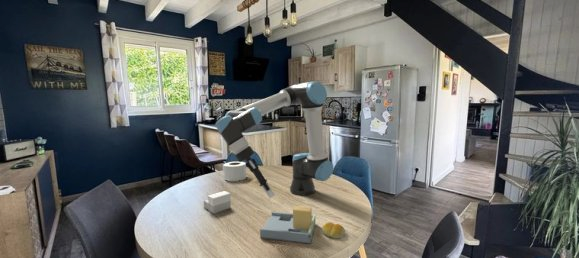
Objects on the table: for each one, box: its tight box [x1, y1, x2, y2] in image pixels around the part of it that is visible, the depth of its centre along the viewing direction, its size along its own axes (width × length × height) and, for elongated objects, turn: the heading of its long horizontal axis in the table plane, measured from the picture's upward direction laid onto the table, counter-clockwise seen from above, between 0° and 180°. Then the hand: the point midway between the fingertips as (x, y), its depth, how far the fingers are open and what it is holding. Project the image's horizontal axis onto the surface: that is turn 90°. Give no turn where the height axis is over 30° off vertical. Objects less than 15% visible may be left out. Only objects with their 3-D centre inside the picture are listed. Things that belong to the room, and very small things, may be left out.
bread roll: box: [322, 222, 346, 240], centre depth 99 cm, size 8×9×4 cm
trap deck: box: [259, 211, 316, 245], centre depth 102 cm, size 20×16×4 cm
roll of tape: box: [223, 161, 247, 182], centre depth 175 cm, size 16×15×11 cm
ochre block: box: [292, 205, 313, 229], centre depth 100 cm, size 7×4×8 cm, turn 76°
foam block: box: [203, 190, 232, 214], centre depth 125 cm, size 10×10×8 cm
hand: (272, 196), depth 104 cm, fingers closed
